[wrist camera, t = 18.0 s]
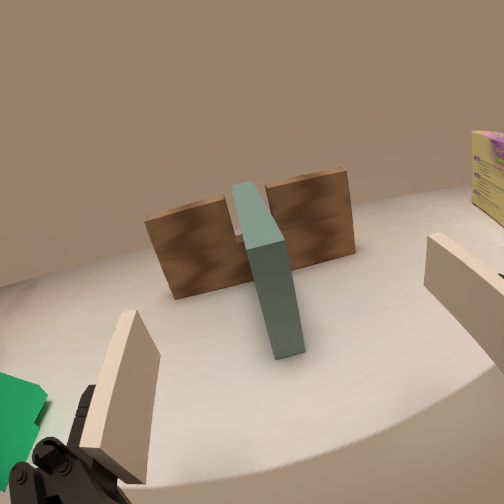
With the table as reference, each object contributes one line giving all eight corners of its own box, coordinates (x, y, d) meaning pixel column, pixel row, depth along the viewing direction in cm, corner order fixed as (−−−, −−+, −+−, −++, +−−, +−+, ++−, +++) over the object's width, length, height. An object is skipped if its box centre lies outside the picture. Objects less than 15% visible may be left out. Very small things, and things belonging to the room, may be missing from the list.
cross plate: (275, 359, 23) (246, 249, 19) (250, 260, 40) (231, 185, 35) (305, 351, 23) (285, 239, 19) (269, 255, 40) (251, 180, 35)
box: (530, 224, 29) (535, 143, 24) (504, 229, 30) (508, 143, 25) (495, 199, 38) (495, 130, 33) (471, 202, 40) (469, 130, 34)
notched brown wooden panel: (174, 299, 35) (144, 221, 31) (176, 290, 37) (147, 215, 33) (355, 252, 35) (346, 170, 31) (349, 246, 37) (339, 167, 33)
